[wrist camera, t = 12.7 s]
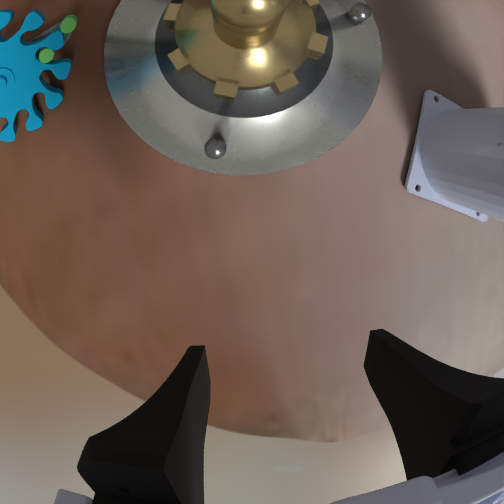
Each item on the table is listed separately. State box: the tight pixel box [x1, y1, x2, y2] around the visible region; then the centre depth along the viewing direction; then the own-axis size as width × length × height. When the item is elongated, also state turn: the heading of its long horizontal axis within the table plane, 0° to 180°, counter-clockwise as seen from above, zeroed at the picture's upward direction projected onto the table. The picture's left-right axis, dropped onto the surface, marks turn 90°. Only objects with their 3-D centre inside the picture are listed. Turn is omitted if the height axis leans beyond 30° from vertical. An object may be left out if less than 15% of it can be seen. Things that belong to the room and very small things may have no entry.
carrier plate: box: [104, 0, 382, 176], centre depth 15 cm, size 18×18×2 cm
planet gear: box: [163, 0, 328, 102], centre depth 12 cm, size 9×9×6 cm
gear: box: [0, 9, 77, 142], centre depth 13 cm, size 11×6×10 cm
